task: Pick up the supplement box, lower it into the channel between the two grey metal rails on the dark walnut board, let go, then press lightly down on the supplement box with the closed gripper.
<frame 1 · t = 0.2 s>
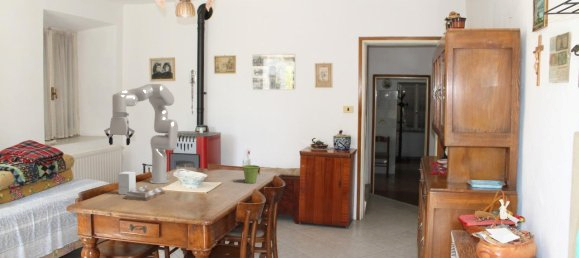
hand: (119, 144, 271), 30 cm above the table, tool pointing down, fingers open, 9 cm apart
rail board: (145, 196, 274), on the table
supplement box: (127, 193, 280), on the table
plant pot: (250, 182, 321), on the table
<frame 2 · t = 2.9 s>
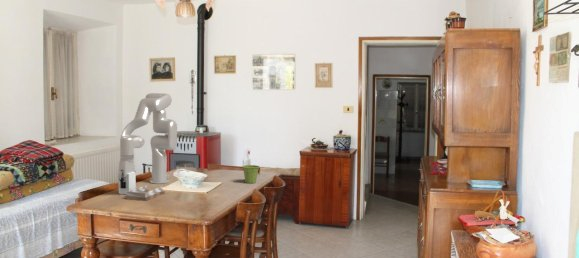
hand: (127, 186, 280), 4 cm above the table, tool pointing down, fingers closed on supplement box, 7 cm apart
supplement box: (127, 193, 280), on the table, touching gripper
everything else where it was.
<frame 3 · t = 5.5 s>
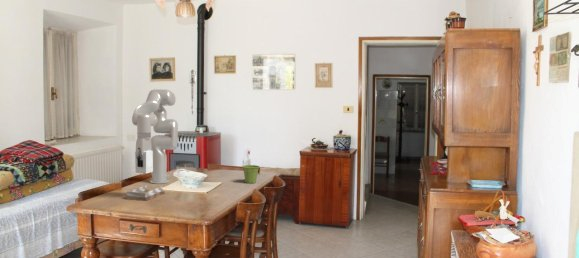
hand: (144, 165, 273), 18 cm above the table, tool pointing down, fingers closed on supplement box, 7 cm apart
supplement box: (144, 172, 273), point 14 cm above the table, touching gripper
everything else where it was.
when the fingers open (7 cm above the table, at t = 8.1 s): supplement box drops 2 cm, resting on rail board.
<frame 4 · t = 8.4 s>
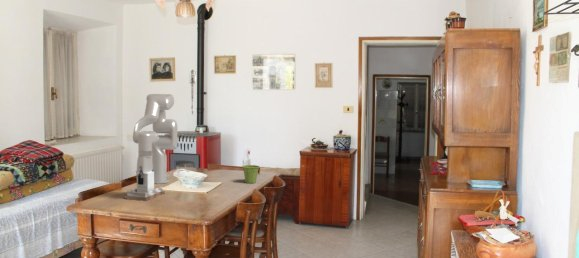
hand: (145, 182, 273), 8 cm above the table, tool pointing down, fingers open, 9 cm apart
supplement box: (145, 193, 274), point 1 cm above the table, touching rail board
everything else where it was.
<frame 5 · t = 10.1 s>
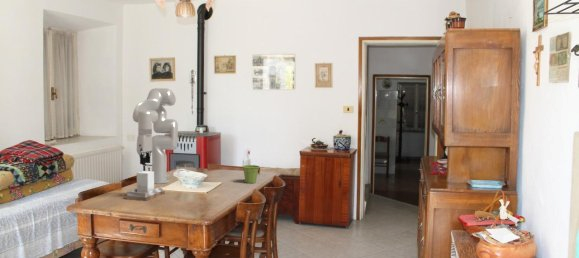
hand: (145, 163, 273), 19 cm above the table, tool pointing down, fingers open, 4 cm apart
nothing on the table moved.
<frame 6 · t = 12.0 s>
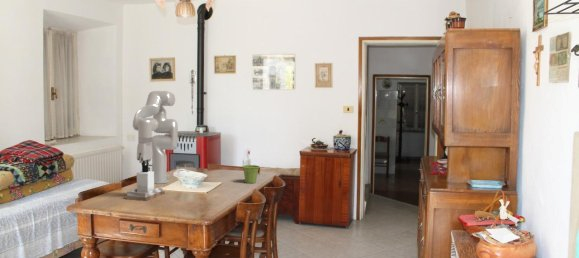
hand: (145, 171, 273), 14 cm above the table, tool pointing down, fingers closed
nothing on the table moved.
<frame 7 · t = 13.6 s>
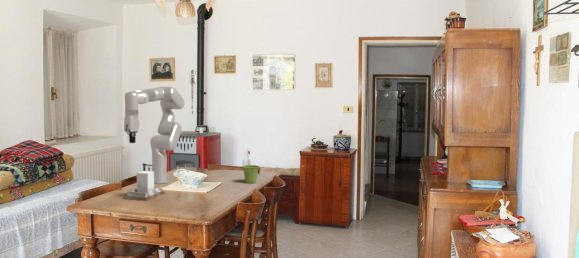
hand: (132, 142, 286), 30 cm above the table, tool pointing down, fingers closed
nothing on the table moved.
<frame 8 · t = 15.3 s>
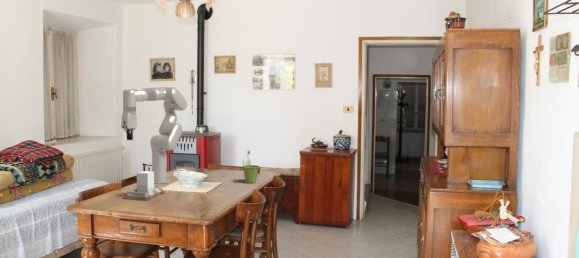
hand: (129, 139, 288), 31 cm above the table, tool pointing down, fingers closed
nothing on the table moved.
at the end: supplement box inside the target area on the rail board (0.5 cm from its centre), point 1.3 cm above the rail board's base; supplement box tilted 0°; the gripper is holding nothing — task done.
